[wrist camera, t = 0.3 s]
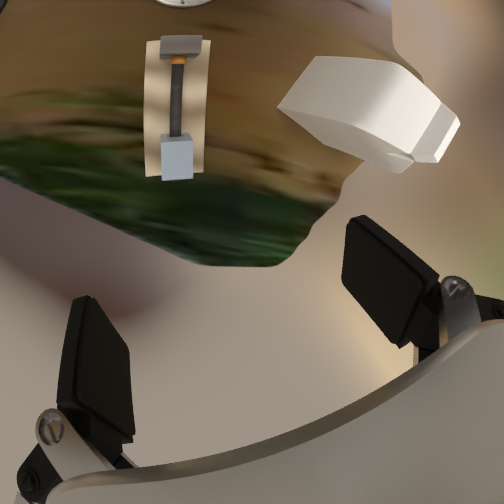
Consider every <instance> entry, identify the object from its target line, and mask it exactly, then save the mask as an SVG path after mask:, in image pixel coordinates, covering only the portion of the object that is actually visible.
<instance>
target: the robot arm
mask: <svg viewBox="0 0 504 504" xmlns="http://www.w3.org/2000/svg"><path fill="white" fill-rule="evenodd" d="M155 1H157V2H158V3H160V4H163V5H166V6H169V7H175V8H188V7H195V6H199V5H203V4H205V3H208V2H210V1H212V0H155ZM182 2H184V3H185V4H181V3H182ZM439 276H440V275H439V274H438V273H436V272H435V271H434V270H433V269H432V268H431V267H430V266H429V265H427V264H426V263H425V262H424V261H423V260H422V259H420V258H419V257H418V256H417V255H416V254H414V253H413V252H412V251H411V250H410V249H409V248H407V247H406V246H405V245H403V244H402V243H401V242H400V241H399V240H397V239H396V238H395V237H394V236H392V235H391V234H390V233H388V232H387V231H386V230H385V229H383V228H382V227H381V226H379V225H378V224H377V223H375V222H374V221H373V220H371V219H370V218H369V217H367V216H366V215H361V216H357V217H354V218H351V219H350V221H349V223H348V224H347V226H346V236H345V247H344V257H343V267H342V275H341V279H342V283H343V285H344V286H345V287H346V289H347V290H348V291H349V292H350V293H351V295H352V296H353V297H354V298H355V299H356V300H357V302H358V303H359V304H360V305H361V306H362V308H363V309H364V310H365V311H366V312H367V314H368V315H369V316H370V317H371V319H372V320H373V321H374V322H375V323H376V325H377V326H378V327H379V328H380V330H381V331H382V332H383V333H384V335H385V336H386V337H387V338H388V340H389V341H390V342H391V343H393V344H396V345H397V346H398V348H399V349H400V348H402V347H403V346H405V345H407V344H408V343H409V342H410V341H411V342H412V343H413V344H414V358H413V367H412V368H411V369H409V370H408V371H407V372H405V373H403V374H402V375H400V376H399V377H397V378H395V379H394V380H392V381H390V382H389V383H387V384H386V385H384V386H382V387H380V388H379V389H377V390H375V391H374V392H372V393H370V394H368V395H367V396H365V397H363V398H361V399H359V400H357V401H355V402H353V403H352V404H350V405H348V406H346V407H344V408H342V409H340V410H337V411H335V412H333V413H331V414H329V415H327V416H325V417H323V418H320V419H318V420H316V421H314V422H311V423H309V424H306V425H304V426H302V427H299V428H297V429H294V430H292V431H289V432H286V433H284V434H281V435H278V436H275V437H273V438H270V439H267V440H264V441H261V442H258V443H255V444H251V445H248V446H245V447H241V448H238V449H234V450H231V451H227V452H223V453H219V454H215V455H211V456H207V457H202V458H198V459H192V460H187V461H181V462H175V463H169V464H163V465H156V466H149V467H140V468H139V467H138V466H137V465H136V464H135V463H134V462H133V461H132V460H130V458H129V457H127V456H126V455H125V454H124V453H123V450H122V444H127V443H133V437H132V435H135V422H134V414H133V404H132V392H131V377H130V357H129V355H130V354H129V349H128V347H127V345H126V343H125V342H124V340H123V339H122V338H121V336H120V335H119V334H118V332H117V331H116V329H115V328H114V326H113V325H112V323H111V322H110V320H109V319H108V318H107V316H106V314H105V313H104V311H103V310H102V308H101V307H100V305H99V304H98V302H97V300H96V299H95V298H91V297H90V296H88V295H87V296H83V297H80V298H77V299H74V300H73V302H72V306H71V310H70V315H69V319H68V324H67V329H66V334H65V339H64V345H63V350H62V357H61V363H60V371H59V379H58V389H57V401H56V402H57V409H54V408H53V409H52V408H50V409H47V410H45V411H44V412H43V413H41V415H40V416H39V418H38V420H37V422H36V428H35V432H36V438H37V440H38V442H39V443H38V444H37V445H36V446H35V448H34V449H33V451H32V452H31V453H30V455H29V456H28V457H27V458H26V460H25V461H24V462H23V464H22V465H21V467H20V468H19V470H18V473H17V484H18V488H19V490H20V492H21V493H19V492H17V495H16V499H15V503H14V504H504V301H503V300H500V299H495V298H490V297H485V296H480V295H476V294H475V293H474V291H473V288H472V286H470V284H469V283H468V282H467V281H466V280H464V279H462V278H460V277H458V276H447V277H445V278H444V279H442V281H441V284H440V283H439V282H438V278H439Z"/></svg>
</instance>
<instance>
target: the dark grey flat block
mask: <svg viewBox="0 0 504 504" xmlns="http://www.w3.org/2000/svg"><path fill="white" fill-rule="evenodd" d="M6 3H7V0H0V14H1V12H2V10H3V9H4V7H5V5H6Z"/></svg>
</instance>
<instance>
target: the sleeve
mask: <svg viewBox="0 0 504 504" xmlns="http://www.w3.org/2000/svg"><path fill="white" fill-rule="evenodd" d="M161 169H162V181H165V180H177V179H190V178H193V139H192V137H191V136H190V134H189V133H188V132H187V133H181V137H170V133H169V134H161Z"/></svg>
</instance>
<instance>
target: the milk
mask: <svg viewBox="0 0 504 504" xmlns="http://www.w3.org/2000/svg"><path fill="white" fill-rule="evenodd" d="M277 108H278V109H279V110H281V111H282V112H283V113H285V114H286V115H287V116H289V117H290V118H291V119H293V120H294V121H295V122H296V123H298V124H299V125H300V126H302V127H303V128H304V129H305V130H307V131H308V132H309V133H310V134H312V135H313V136H314V137H315V138H317V139H318V140H319V141H320V142H321V143H323V144H324V145H327V146H329V147H332V148H335V149H337V150H340V151H343V152H345V153H348V154H350V155H353V156H355V157H358V158H360V159H363V160H365V161H368V162H370V163H372V164H374V165H377V166H379V167H381V168H384V169H386V170H388V171H390V172H392V173H395V174H400V173H402V172H403V171H405V170H406V168H408V167H409V166H410V165H411V164H412V163H414V162H415V161H416V162H430V163H438V162H439V160H440V159H441V157H442V155H443V154H444V152H445V150H446V149H447V147H448V145H449V143H450V142H451V140H452V138H453V136H454V135H455V133H456V131H457V129H458V127H459V126H460V122H459V120H458V118H457V116H456V115H455V114H454V113H453V112H452V111H451V110H450V109H449V108H448V107H446V106H445V105H444V104H443V103H441V101H440V100H439V99H438V98H437V97H436V96H435V95H434V94H433V93H432V92H431V91H430V90H429V89H428V88H427V87H426V86H425V85H424V84H423V83H421V82H420V81H419V80H418V79H417V78H416V77H415V76H414V75H413V74H411V73H410V72H409V71H408V70H406V69H405V68H404V67H402V66H400V65H398V64H396V63H393V62H388V61H381V60H373V59H364V58H353V57H337V56H315V58H314V59H313V60H312V61H311V63H310V64H309V65H308V66H307V68H306V69H305V70H304V72H303V73H302V74H301V76H300V77H299V78H298V79H297V81H296V82H295V83H294V85H293V86H292V87H291V89H290V90H289V91H288V93H287V94H286V96H285V97H284V98H283V100H282V101H281V102H280V104H279V105H278V107H277Z"/></svg>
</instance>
